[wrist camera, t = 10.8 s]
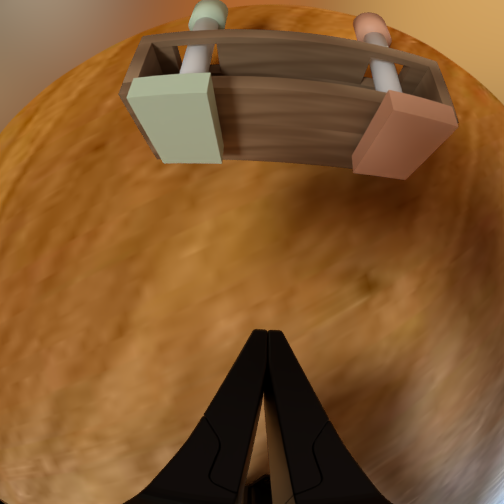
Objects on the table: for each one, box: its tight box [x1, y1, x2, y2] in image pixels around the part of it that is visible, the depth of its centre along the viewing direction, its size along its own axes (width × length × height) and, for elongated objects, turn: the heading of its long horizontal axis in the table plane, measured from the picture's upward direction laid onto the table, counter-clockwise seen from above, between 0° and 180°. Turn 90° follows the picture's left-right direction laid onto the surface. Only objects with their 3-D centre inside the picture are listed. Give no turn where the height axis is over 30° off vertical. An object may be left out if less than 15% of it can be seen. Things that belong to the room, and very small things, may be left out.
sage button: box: [127, 0, 228, 164], centre depth 19 cm, size 14×4×8 cm, turn 177°
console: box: [118, 29, 459, 169], centre depth 21 cm, size 6×22×9 cm, turn 87°
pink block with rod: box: [352, 13, 458, 180], centre depth 19 cm, size 14×4×8 cm, turn 177°
